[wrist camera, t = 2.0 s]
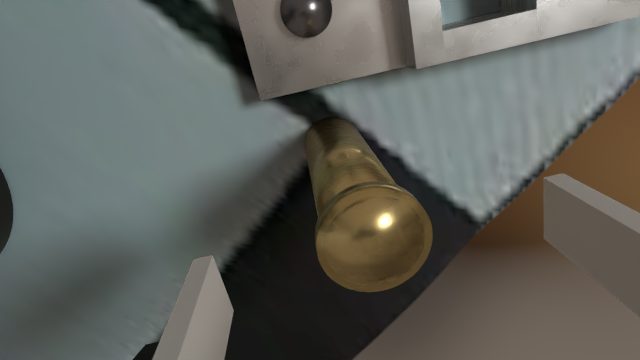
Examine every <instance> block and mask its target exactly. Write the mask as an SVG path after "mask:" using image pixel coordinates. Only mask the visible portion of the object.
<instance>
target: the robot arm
mask: <svg viewBox="0 0 640 360" xmlns="http://www.w3.org/2000/svg"><path fill="white" fill-rule="evenodd" d="M12 222H13V205H12V199H11V194H10V190H9V187H8V184H7V181H6V179H5V177H4V174H3V172H2V171H1V169H0V253H1V251H2V250H3V248H4V247H5V245H6V243H7V241H8V238H9V236H10V232H11V228H12ZM544 239H545V240H546V241H547V242H549V243H550V244H551V245H552V246H554V247H555V248H556V249H557V250H559V251H560V252H561V253H562V254H563V255H565V256H566V257H567V258H568V259H570V260H571V261H572V262H573V263H574V264H576V265H577V266H578V267H579V268H580V269H582V270H583V271H584V272H586V273H587V274H588V275H589V276H590V277H591V278H593V279H594V280H595V281H596V282H598V283H599V284H600V285H601V286H603V287H604V288H605V289H606V290H607V291H609V292H610V293H611V294H612V295H613V296H615V297H616V298H617V299H619V300H620V301H621V302H622V303H623V304H625V305H626V306H627V307H628V308H630V309H631V310H632V311H633V312H634V313H635V314H637V315H638V316H639V317H640V213H638V212H636V211H634V210H632V209H630V208H628V207H626V206H625V205H623V204H621V203H619V202H617V201H615V200H613V199H611V198H609V197H607V196H606V195H603V194H602V193H600V192H598V191H596V190H594V189H592V188H590V187H588V186H586V185H584V184H583V183H581V182H579V181H577V180H575V179H573V178H571V177H569V176H567V175H565V174H563V173H562V174H558V175H553V176H549V177H545V178H544ZM233 311H234V310H233V308H232V305H231V302H230V300H229V297H228V294H227V292H226V289H225V286H224V284H223V281H222V279H221V276H220V273H219V271H218V268H217V265H216V263H215V260H214V257H213V255H210V256H205V257H201V258H197V259H193V261H192V264H191V266H190V269H189V271H188V274H187V276H186V279H185V281H184V283H183V286H182V288H181V291H180V293H179V296H178V298H177V300H176V303H175V305H174V308H173V310H172V313H171V315H170V317H169V320H168V322H167V325H166V327H165V330H164V332H163V334H162V337H161V339H160V342H155V343H151V344H147V345H145V346H144V347H143V348H142V349H141V351H140V352H139V353H138V354H137V355H136V356H135V358H134V359H133V360H224V357H225V352H226V347H227V342H228V337H229V332H230V326H231V321H232V316H233Z"/></svg>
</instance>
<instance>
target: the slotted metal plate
mask: <svg viewBox="0 0 640 360" xmlns="http://www.w3.org/2000/svg"><path fill="white" fill-rule="evenodd" d="M233 3H234V7H235V11H236V14H237V18H238V22H239V25H240V29H241V32H242V36H243V40H244V43H245V47H246V50H247V54H248V58H249V61H250V65H251V69H252V72H253V76H254V79H255V83H256V87H257V90H258V94H259V97H260V101H262V100H266V99H270V98H275V97H279V96H283V95H287V94H291V93H296V92H300V91H304V90H308V89H313V88H317V87H321V86H325V85H329V84H334V83H338V82H342V81H346V80H350V79H355V78H359V77H363V76H367V75H372V74H376V73H380V72H384V71H388V70H393V69H397V68H401V67H405V66H408V67H411V68H414V69H420V68H424V67H428V66H433V65H437V64H441V63H445V62H450V61H454V60H458V59H462V58H466V57H471V56H475V55H479V54H483V53H487V52H492V51H496V50H500V49H504V48H508V47H513V46H517V45H521V44H525V43H530V42H534V41H538V40H542V39H546V38H551V37H555V36H559V35H563V34H567V33H572V32H576V31H580V30H584V29H588V28H593V27H597V26H601V25H605V24H610V23H614V22H618V21H622V20H626V19H631V18H635V17H639V16H640V0H500V12H496V13H492V14H488V15H484V16H479V17H475V18H471V19H467V20H463V21H458V22H454V23H450V24H446V25H442V18H441V7H440V0H233Z"/></svg>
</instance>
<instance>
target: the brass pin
mask: <svg viewBox="0 0 640 360" xmlns="http://www.w3.org/2000/svg"><path fill="white" fill-rule="evenodd" d="M305 149H306V155H307V160H308V165H309V171H310V176H311V181H312V187H313V192H314V197H315V203H316V208H317V213H318V220H317V224H316V229H315V243H316V249H317V255H318V259H319V262H320V264H321V266H322V268H323V270H324V271H325V272H326V274H327V275H328V276H329V277H330V278H331V279H332V280H334V281H335V282H336V283H338V284H339V285H341V286H343V287H345V288H348V289H351V290H355V291H361V292H377V291H383V290H386V289H390V288H393V287H395V286H397V285H399V284H401V283H403V282H405V281H406V280H408V279H409V278H410V277H412V276H413V275H414V274H415V273H416V272H417V271H418V270H419V269H420V268H421V266H422V265H423V263H424V262H425V260H426V258H427V256H428V254H429V252H430V249H431V244H432V226H431V222H430V220H429V217H428V215H427V213H426V212H425V210H424V209H423V208H422V206H421V205H420V204H419V202H418V201H417V200H416V199H415V197H414V196H413V195H412V194H411V193H409V192H408V191H407V190H405V189H404V188H402V187H400V186H398V185H396V183H395V182H394V181H393V179H392V178H391V177H390V175H389V174H388V172H387V171H386V170H385V168H384V167H383V165H382V164H381V163H380V161H379V160H378V159H377V157H376V156H375V154H374V153H373V152H372V150H371V149H370V147H369V146H368V145H367V143H366V142H365V141H364V139H363V138H362V136H361V135H360V134H359V132H358V131H357V129H356V128H355V127H354V126H353V125H352V124H351V123H350V122H349V121H347V120H345V119H343V118H340V117H327V118H324V119H321V120H319V121H318V122H316V123H315V124H314V125H313V126H312V127H311V128H310V130H309V131H308V133H307V136H306V139H305Z"/></svg>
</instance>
